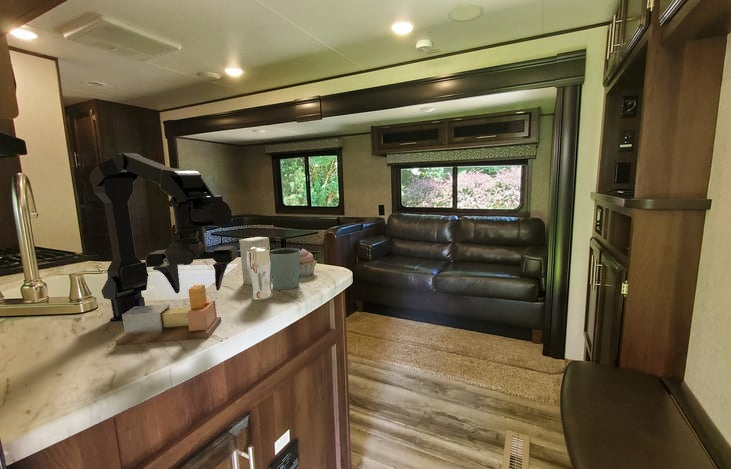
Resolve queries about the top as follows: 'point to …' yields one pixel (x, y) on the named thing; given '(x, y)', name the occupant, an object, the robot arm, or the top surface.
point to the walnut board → (168, 335)
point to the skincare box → (244, 246)
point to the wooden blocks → (180, 314)
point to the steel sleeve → (144, 319)
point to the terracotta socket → (202, 317)
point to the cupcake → (306, 263)
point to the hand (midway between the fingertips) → (198, 291)
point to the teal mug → (285, 268)
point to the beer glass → (260, 272)
